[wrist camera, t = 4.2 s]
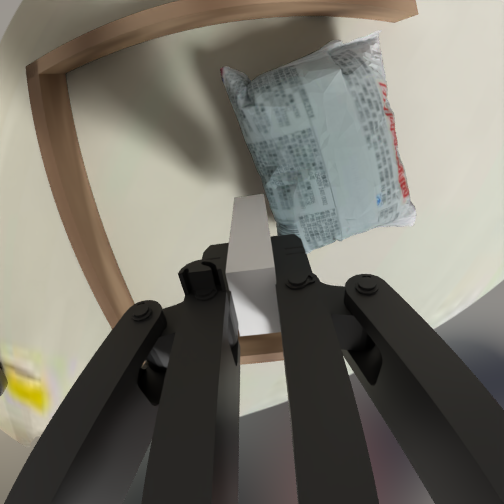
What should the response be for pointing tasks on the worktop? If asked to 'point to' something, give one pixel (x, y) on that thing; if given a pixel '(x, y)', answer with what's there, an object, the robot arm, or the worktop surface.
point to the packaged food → (325, 142)
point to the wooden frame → (66, 142)
